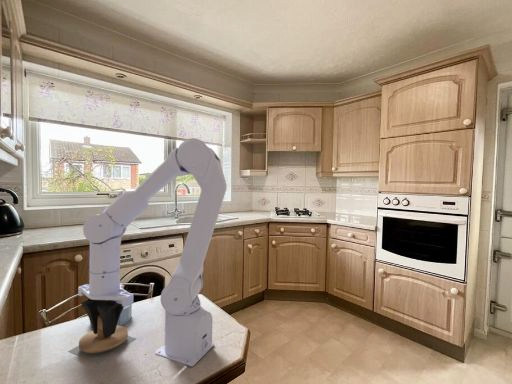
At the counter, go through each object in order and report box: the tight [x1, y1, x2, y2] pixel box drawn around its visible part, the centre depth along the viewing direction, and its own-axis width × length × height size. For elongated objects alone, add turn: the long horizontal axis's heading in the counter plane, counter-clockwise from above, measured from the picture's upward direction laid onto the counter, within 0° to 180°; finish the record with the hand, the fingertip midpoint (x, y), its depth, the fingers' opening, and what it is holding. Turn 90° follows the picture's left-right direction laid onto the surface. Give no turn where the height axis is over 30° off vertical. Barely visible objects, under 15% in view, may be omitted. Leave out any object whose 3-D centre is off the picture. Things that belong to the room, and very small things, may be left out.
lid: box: [78, 315, 129, 353], centre depth 55 cm, size 9×9×5 cm
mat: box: [67, 335, 137, 364], centre depth 55 cm, size 9×9×1 cm
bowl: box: [89, 304, 133, 328], centre depth 65 cm, size 9×9×4 cm
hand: (104, 333), depth 55 cm, fingers closed on lid, 3 cm apart
